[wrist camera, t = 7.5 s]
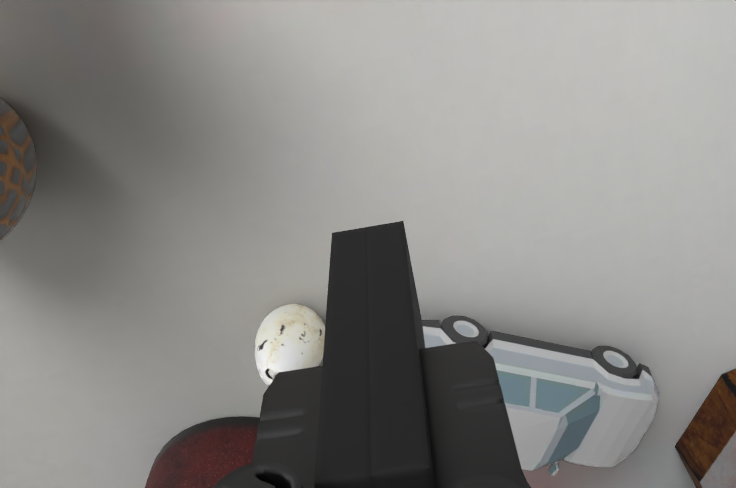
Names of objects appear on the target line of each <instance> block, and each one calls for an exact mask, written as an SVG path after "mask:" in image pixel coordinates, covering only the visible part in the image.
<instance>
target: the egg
mask: <svg viewBox="0 0 736 488" xmlns="http://www.w3.org/2000/svg"><path fill="white" fill-rule="evenodd" d="M324 339H325V325H324V323H323V321H322V320H321V318H320V317H319V316H318V314H317V313H316V312H314V311H313V310H312V309H310V308H308V307H306V306H303V305H298V304H289V305H284V306H281V307H279V308H277V309H275V310H274V311H272V312H271V313H270V314H268V315H267V317H266V318H265V319H264V320H263V322H262V323H261V325H260V327H259V329H258V332H257V335H256V340H255V360H256V365H257V368H258V371H259V374H260V376H261V378H262V380H263V381H264V382H265V383H266V384H267V385H268V386H270V384H271V383H272V381H273V380H274V378H275V377H276V375H277V374H278V373H279V372H285V371H291V370H298V369H304V368H311V367H317V366H318V365H319V364H320V362H321V361H322V359H323V352H324Z"/></svg>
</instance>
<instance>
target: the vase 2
mask: <svg viewBox="0 0 736 488" xmlns="http://www.w3.org/2000/svg"><path fill="white" fill-rule="evenodd" d="M259 422H260V418H253V417H227V418H221V419H215V420H210V421H206V422H203V423H200V424H197V425H194V426H192V427H190V428H188V429H186V430H184V431H182V432H181V433H179V434H178V435H176V436H175V437H173V438H172V439H171V440H170V441H169V442H168V443H167V444H166V445H165V446H164V447H163V448H162V450H161V451H160V453H159V454H158V456H157V457H156V459H155V461H154V464H153V466H152V469H151V471H150V474H149V477H148V480H147V483H146V486H145V488H213V487H214V486H215V485H216V484H217V483H218V482H219V480H220V479H221V478H222V477H224V476H226V475H227V474H229V473H231V472H232V471H234V470H235V469H237V468H239V467H241V466H245V465H248V464H252V458H253V453H254V447H255V441H257V437H256V435H257V430H258V424H259Z"/></svg>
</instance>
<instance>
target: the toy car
mask: <svg viewBox="0 0 736 488" xmlns="http://www.w3.org/2000/svg"><path fill="white" fill-rule="evenodd" d="M422 326H423V333H424V341H425V348H429V347H436V346H442V345H449V344H455V343H462V342H468V341H475V340H477V341H478V342H479V343H480V344H481V345H482V346H483V347H484V348H485V350H486V351H487V352H488V353H489V354H490V355H491V356H492V357H493V358H494V362H495V366H496V370H497V374H498V378H499V383H500V386H501V390H502V394H503V398H504V403H505V405H506V409H507V413H508V417H509V421H510V425H511V429H512V433H513V437H514V441H515V445H516V449H517V453H518V457H519V461H520V464H521V468H522V469H524V470H530V471H533V470H536V469H538V468H541V467H543V466H546V465H549V464H551V463H553V464H552V465H551V467H550V468H549V473H550V475H552V476H554V475H555V474H556V473H557V472H558V471H559V467H558V461H559V460H561V459H562V460H565V461H567V462H569V463H571V464H577V465H583V466H593V467H608V468H612V467H613V466H615V465H616V464H618V463H620V462H621V461H623V460H624V459H625V458H626V457H627V456H628V455H629V454H630V453H631V452H632V451H634V450H635V449H636V447H637V446H638V444H639V442H640V441H641V439H642V437H643V436H644V434H645V433H646V431H647V429H648V428H649V426H650V425H651V423H652V421H653V420H654V416H655V413H656V408H657V404H658V394H659V392H658V389H657V386H656V384H655V382H654V380H653V377H652V375H651V373H650V370H649V368H648V367H647V366H644V365H642V364H639V365H638V367H637V368H636V364H635V363H634V362H633V360H632V359H631V358H630V357H629V356H628V355H627V354H625V353H624V352H622V351H621V350H619V349H616V348H613V347H610V346H598V347H596V348H595V349H593V350H592V351H591V353H590V351H588V350H583V349H578V348H573V347H568V346H563V345H558V344H553V343H548V342H543V341H539V340H534V339H529V338H524V337H519V336H514V335H509V334H504V333H499V332H494V331H491V332H490V334H489V336H488V335H487V333H486V332H485V330H484V328H483V327H482V326H481V325H480V324H479V323H477V322H476V321H475V320H473V319H470V318H467V317H464V316H451V317H449V318H447V319H445V320H444V321H443V323H442V326H441V328H440V322H439V320H422Z"/></svg>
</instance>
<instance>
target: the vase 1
mask: <svg viewBox="0 0 736 488" xmlns="http://www.w3.org/2000/svg"><path fill="white" fill-rule="evenodd" d="M36 174H37V162H36V153H35V148H34V145H33V141H32V139H31V136H30V134H29V132H28V130H27V128H26V126H25V124H24V123H23V121H22V120H21V118H20V117H19V116H18V114H17V113H16V112H15V111H14V110H13V109H12V108H11V107H10V106H9V105H8V104H7V103H6V102H5V101H4V100H3V99H2V98H1V97H0V242H1V241H2V240H3V239H4V238H5V237H6V236H7V235H8V234H9V233H10V232H11V230H12V229H13V228H14V227H15V225H16V224H17V223H18V222H19V220H20V219H21V217H22V215H23V214H24V212H25V211H26V209H27V207H28V205H29V202H30V200H31V197H32V194H33V191H34V187H35V181H36Z"/></svg>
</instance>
